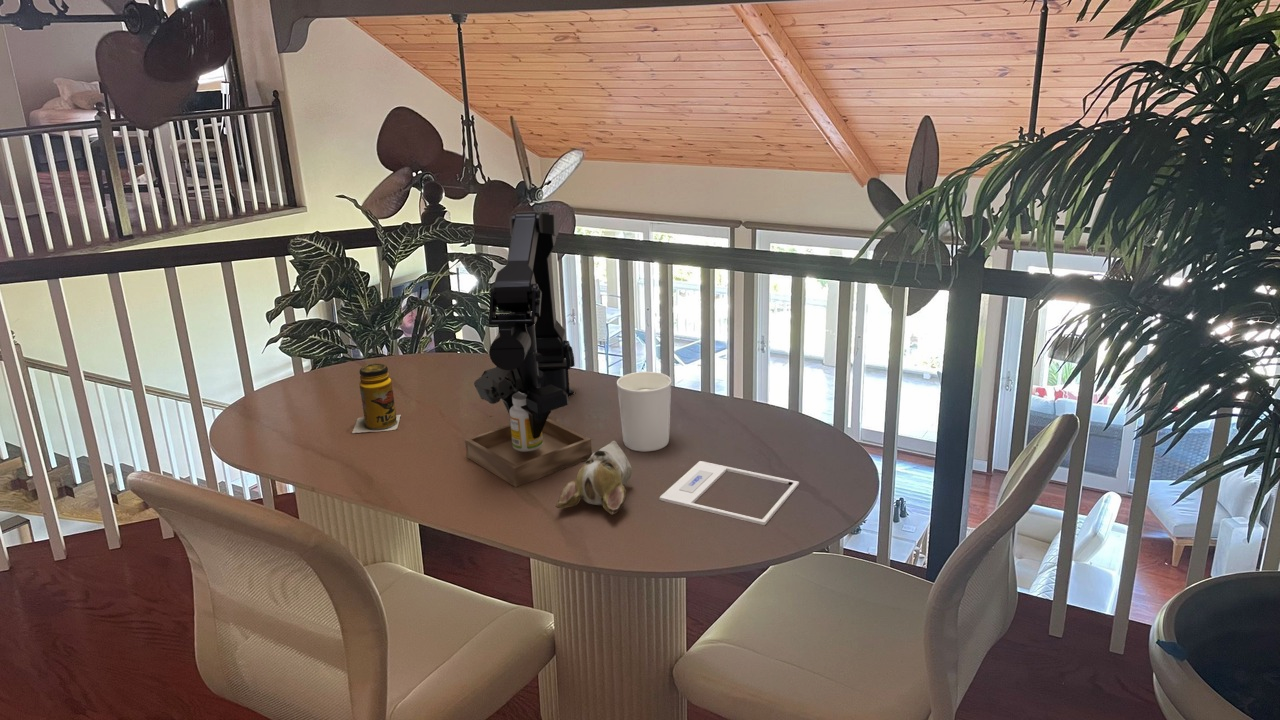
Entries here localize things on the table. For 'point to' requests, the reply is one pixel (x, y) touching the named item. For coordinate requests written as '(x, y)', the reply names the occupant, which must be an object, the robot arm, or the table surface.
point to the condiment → (376, 400)
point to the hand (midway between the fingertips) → (527, 433)
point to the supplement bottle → (522, 426)
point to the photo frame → (705, 477)
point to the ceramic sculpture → (600, 480)
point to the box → (528, 453)
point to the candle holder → (645, 410)
